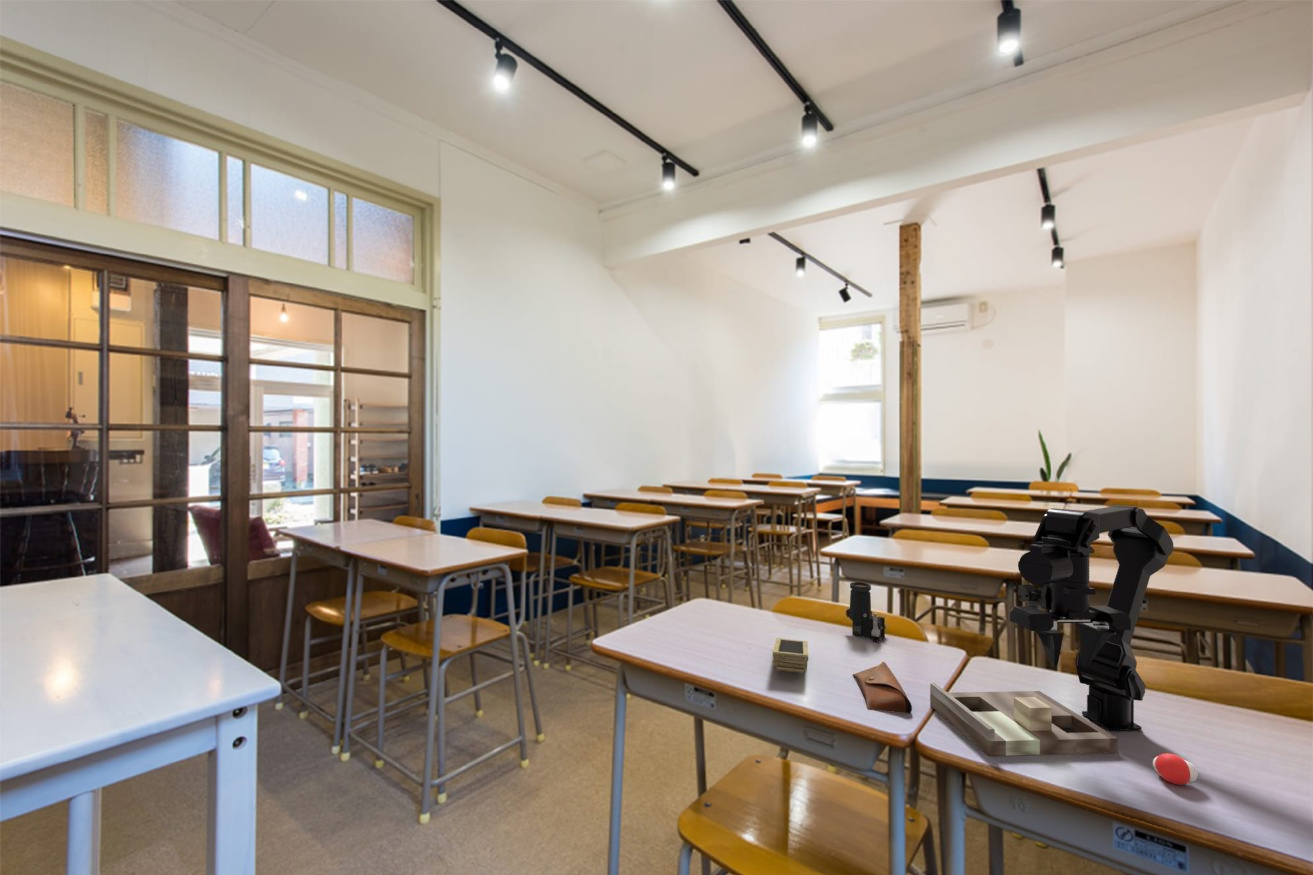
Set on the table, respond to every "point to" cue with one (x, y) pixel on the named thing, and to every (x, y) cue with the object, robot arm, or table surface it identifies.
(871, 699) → the sunglasses case
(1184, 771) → the molecule
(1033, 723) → the block
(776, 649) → the box
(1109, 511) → the robot arm
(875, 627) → the scope
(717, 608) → the table surface
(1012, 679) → the table surface
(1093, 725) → the trap box
